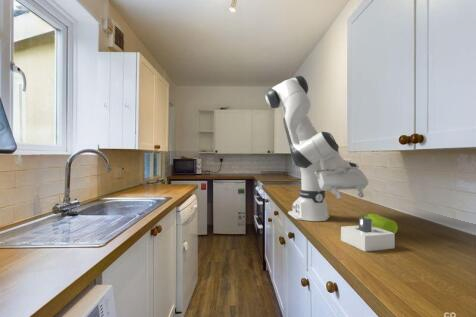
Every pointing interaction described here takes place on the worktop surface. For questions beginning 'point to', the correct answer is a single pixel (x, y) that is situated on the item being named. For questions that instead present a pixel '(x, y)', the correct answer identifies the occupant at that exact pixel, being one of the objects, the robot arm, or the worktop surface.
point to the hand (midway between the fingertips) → (351, 197)
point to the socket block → (368, 238)
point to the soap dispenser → (382, 222)
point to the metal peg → (365, 225)
